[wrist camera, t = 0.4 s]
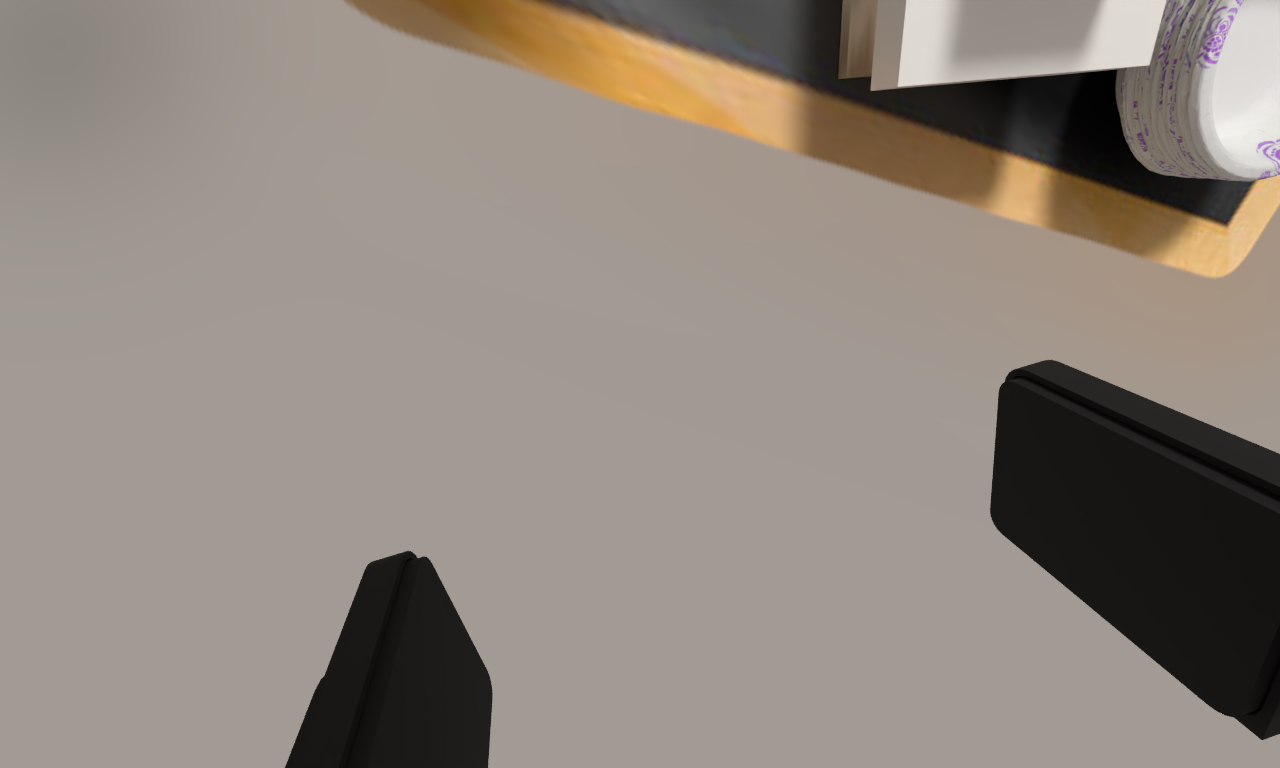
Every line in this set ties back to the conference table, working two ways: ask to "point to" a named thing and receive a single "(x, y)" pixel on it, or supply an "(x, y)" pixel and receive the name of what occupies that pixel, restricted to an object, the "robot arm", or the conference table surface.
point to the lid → (1008, 39)
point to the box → (857, 38)
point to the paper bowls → (1207, 92)
